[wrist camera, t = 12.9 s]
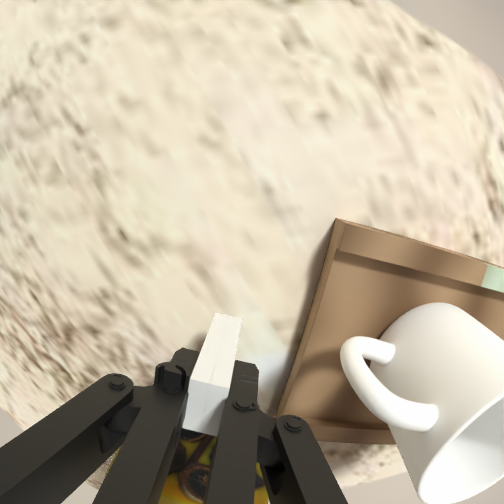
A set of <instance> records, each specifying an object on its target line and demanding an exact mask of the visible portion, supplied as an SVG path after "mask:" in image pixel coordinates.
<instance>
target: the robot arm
mask: <svg viewBox="0 0 504 504" xmlns="http://www.w3.org/2000/svg"><path fill="white" fill-rule="evenodd" d="M241 324H242V318H238V317H234V316H229V315H225V314H221V313H217V312H216V313H215V316H214V318H213V321H212V323H211V326H210V329H209V331H208V334H207V336H206V339H205V341H204V344H203V347H202V349H201V352H197V351H193V350H189V349H185V348H181V349H179V350H178V351H176V352H175V354H174V356H173V358H172V359H171V361H170V362H164V363H161V364H159V365H158V366H156V370H155V381H154V385H153V386H148V387H141V386H133V382H132V380H131V379H130V378H128V377H127V376H124V375H122V374H115V373H114V374H108V375H106V376H104V377H102V378H101V379H99V380H98V381H96V382H95V383H94V384H92V385H91V386H89V387H88V388H86V389H85V390H84V391H82V392H81V393H79V394H78V395H76V396H75V397H74V398H72V399H71V400H69V401H68V402H66V403H65V404H64V405H62V406H61V407H59V408H58V409H56V410H55V411H53V412H52V413H51V414H49V415H48V416H46V417H45V418H43V419H42V420H40V421H39V422H37V423H36V424H35V425H33V426H32V427H30V428H29V429H27V430H26V431H24V432H23V433H21V434H20V435H19V436H17V437H15V438H14V439H13V440H11V441H10V442H8V443H7V444H5V445H4V446H2V447H1V448H0V504H61V503H62V502H63V501H64V500H65V499H66V498H67V497H68V496H69V495H70V494H72V493H73V492H74V491H75V490H76V489H77V488H78V487H79V486H80V485H81V484H82V483H83V482H84V481H85V480H86V479H87V478H88V477H89V476H90V475H91V474H92V473H94V472H95V471H96V470H97V469H98V468H99V467H100V466H101V465H102V464H103V463H104V462H105V461H106V460H107V459H108V458H109V457H110V456H111V455H112V454H113V453H114V452H115V451H116V450H117V449H118V448H119V447H120V446H121V445H122V446H121V448H120V450H119V452H118V454H117V456H116V458H115V460H114V462H113V463H112V465H111V467H110V469H109V471H108V473H107V475H106V477H105V479H104V481H103V483H102V485H101V487H100V489H99V491H98V493H97V495H96V497H95V499H94V501H93V503H92V504H158V503H159V500H160V497H161V494H162V490H163V487H164V484H165V481H166V478H167V475H168V472H169V469H170V466H171V463H172V460H173V457H174V454H175V451H176V448H177V444H178V441H179V438H180V434H181V428H184V429H188V430H192V431H196V432H200V433H204V434H209V435H213V436H217V439H216V443H215V447H214V451H213V455H212V456H213V457H212V462H211V467H210V471H209V476H208V481H207V486H206V491H205V496H204V501H203V504H254V496H255V479H256V462H257V463H259V464H260V470H261V473H262V477H263V480H264V484H265V487H266V491H267V494H268V497H269V501H270V504H348V503H347V501H346V499H345V497H344V495H343V493H342V491H341V489H340V487H339V485H338V483H337V481H336V479H335V477H334V475H333V473H332V471H331V469H330V467H329V465H328V463H327V461H326V459H325V457H324V455H323V453H322V451H321V449H320V447H319V445H318V443H317V441H316V439H315V437H314V434H313V432H312V430H311V428H310V426H309V425H308V423H307V422H306V421H305V420H304V419H302V418H301V417H298V416H295V415H282V416H280V417H279V418H278V419H275V418H272V417H270V416H268V415H266V414H264V413H263V412H262V411H261V410H260V409H259V406H258V404H257V395H258V376H259V370H258V369H257V367H256V365H255V364H252V363H247V362H242V361H238V360H235V357H236V351H237V346H238V340H239V335H240V330H241ZM182 425H183V427H182Z"/></svg>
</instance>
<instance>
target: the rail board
mask: <svg viewBox="0 0 504 504" xmlns="http://www.w3.org/2000/svg"><path fill="white" fill-rule="evenodd" d="M437 302H439V303H448V304H452V305H454V306H456V307H459V308H460V309H462V310H463V311H465V312H466V313H468V314H469V315H471V316H472V317H473V318H475V319H476V320H477V321H479V322H480V323H481V324H483V325H484V326H485V327H487V328H488V329H489V330H490V331H492V332H493V333H494V334H496V335H497V336H498V337H499V338H501V339H502V340H503V341H504V268H503V267H500V266H497V265H494V264H491V263H488V262H485V261H482V260H479V259H476V258H473V257H470V256H467V255H464V254H461V253H457V252H454V251H451V250H448V249H445V248H441V247H438V246H435V245H431V244H428V243H425V242H421V241H418V240H415V239H411V238H408V237H404V236H401V235H397V234H394V233H390V232H387V231H383V230H379V229H376V228H372V227H368V226H365V225H361V224H357V223H354V222H350V221H346V220H342V219H338V218H336V220H335V224H334V227H333V231H332V235H331V239H330V243H329V247H328V250H327V254H326V258H325V261H324V265H323V269H322V272H321V276H320V279H319V283H318V286H317V290H316V293H315V296H314V300H313V303H312V306H311V310H310V313H309V316H308V320H307V323H306V326H305V329H304V332H303V336H302V339H301V342H300V345H299V348H298V351H297V354H296V357H295V360H294V363H293V366H292V369H291V372H290V375H289V378H288V381H287V384H286V387H285V389H284V392H283V395H282V398H281V401H280V404H279V406H278V409H277V419H278V418H279V417H280V416H282V415H295V416H298V417H301V418H302V419H304V420H305V421H306V422H307V423H308V425H309V426H310V428H311V430H312V432H313V434H314V437H315V439H316V440H319V441H330V442H344V443H364V444H396V442H395V440H394V438H393V435H392V433H391V431H390V428H389V426H388V424H387V423H386V422H384V421H382V420H381V419H379V418H378V417H377V416H375V415H374V414H373V413H372V412H371V411H370V410H369V409H368V408H367V407H366V406H365V405H364V403H363V402H362V401H361V400H360V398H359V397H358V395H357V394H356V392H355V391H354V389H353V388H352V386H351V384H350V383H349V381H348V379H347V377H346V375H345V373H344V370H343V368H342V365H341V360H340V350H341V347H342V345H343V344H344V342H345V341H346V340H348V339H349V338H352V337H355V336H365V337H370V338H374V339H378V340H379V339H380V338H381V336H382V335H383V334H384V332H385V331H386V330H387V329H388V327H389V326H390V325H391V324H392V323H393V322H394V321H395V320H397V319H398V318H399V317H400V316H402V315H403V314H405V313H406V312H408V311H410V310H412V309H414V308H416V307H418V306H421V305H424V304H428V303H437ZM363 359H364V361H365V363H366V365H367V366H368V368H369V369H370V362H371V360H368V359H365V358H363Z"/></svg>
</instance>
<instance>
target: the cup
mask: <svg viewBox="0 0 504 504" xmlns="http://www.w3.org/2000/svg"><path fill="white" fill-rule="evenodd" d="M363 358H365V359H368V360H371V362H370V369H369V368H368V366H367V365H366V363H365V361H364V359H363ZM340 360H341V365H342V368H343V370H344V373H345V375H346V377H347V379H348V381H349V383H350V384H351V386H352V388H353V389H354V391H355V392H356V394H357V395H358V397H359V398H360V400H361V401H362V402H363V403H364V405H365V406H366V407H367V408H368V409H369V410H370V411H371V412H372V413H373V414H374V415H375V416H377V417H378V418H379V419H381V420H382V421H384V422H386V423H387V424H388V426H389V428H390V431H391V433H392V435H393V438H394V440H395V442H396V444H397V447H398V449H399V451H400V454H401V456H402V458H403V461H404V463H405V466H406V468H407V470H408V473H409V475H410V478H411V480H412V482H413V485H414V487H415V490H416V492H417V495H418V497H419V499H420V500H421V501H422V502H424V503H426V504H453V503H457V502H460V501H463V500H465V499H468V498H470V497H472V496H474V495H476V494H478V493H480V492H482V491H484V490H485V489H487V488H489V487H490V486H492V485H493V484H495V483H496V482H497V481H499V480H500V479H501V478H503V477H504V341H503V340H502V339H501V338H499V337H498V336H497V335H496V334H494V333H493V332H492V331H490V330H489V329H488V328H487V327H485V326H484V325H483V324H481V323H480V322H479V321H477V320H476V319H475V318H473V317H472V316H471V315H469V314H468V313H466V312H465V311H463V310H462V309H460V308H459V307H456V306H454V305H452V304H448V303H439V302H437V303H428V304H424V305H421V306H418V307H416V308H414V309H412V310H410V311H408V312H406V313H405V314H403V315H402V316H400V317H399V318H398V319H397V320H395V321H394V322H393V323H392V324H391V325H390V326H389V327H388V329H387V330H386V331H385V332H384V334H383V335H382V336H381V338H380V339H379V340H378V339H374V338H370V337H365V336H355V337H352V338H349V339H348V340H346V341H345V342H344V344H343V345H342V347H341V350H340Z"/></svg>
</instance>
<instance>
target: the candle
mask: <svg viewBox="0 0 504 504" xmlns="http://www.w3.org/2000/svg"><path fill="white" fill-rule="evenodd" d="M182 427H183V425H182ZM216 439H217V436H213V435H209V434H204V433H200V432H196V431H192V430H188V429H184V428H181V434H180V438H179V441H178V444H177V448H176V451H175V454H174V457H173V460H172V463H171V466H170V469H169V472H168V475H167V478H166V481H165V484H164V487H163V490H162V494H161V497H160V500H159V503H158V504H203V501H204V496H205V491H206V486H207V481H208V476H209V471H210V467H211V462H212V457H213V456H212V455H213V451H214V447H215V443H216ZM121 446H122V445H121ZM120 448H121V447H120ZM120 448H119V450H120ZM119 450H118V451H117V453H116V455H115V457H114V459H113V461H112V463H113V462H114V460H115V458H116V456H117V454H118V452H119ZM112 463H111V465H112ZM111 465H110V467H111ZM110 467H109V469H110ZM109 469H108V470H107V472H106V475H107V473H108V471H109ZM268 499H269V497H268V494H267V491H266V487H265V484H264V480H263V477H262V473H261V470H260V464H259V463H257V462H256V479H255V496H254V504H268Z"/></svg>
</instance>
